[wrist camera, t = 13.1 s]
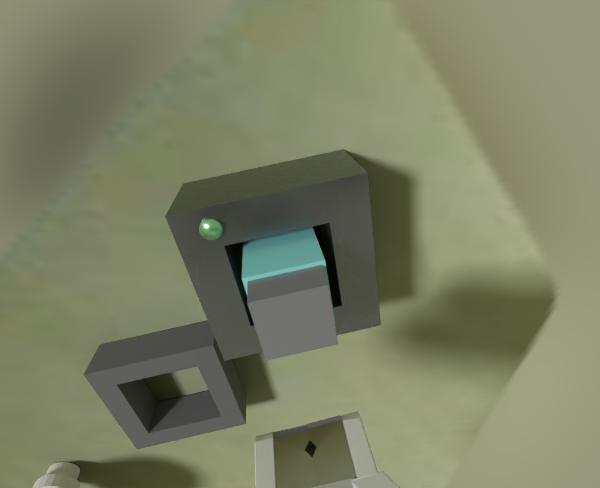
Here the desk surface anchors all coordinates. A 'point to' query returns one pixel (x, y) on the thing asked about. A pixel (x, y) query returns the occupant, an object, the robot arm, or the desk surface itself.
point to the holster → (160, 360)
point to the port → (270, 221)
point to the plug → (288, 293)
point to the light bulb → (60, 476)
